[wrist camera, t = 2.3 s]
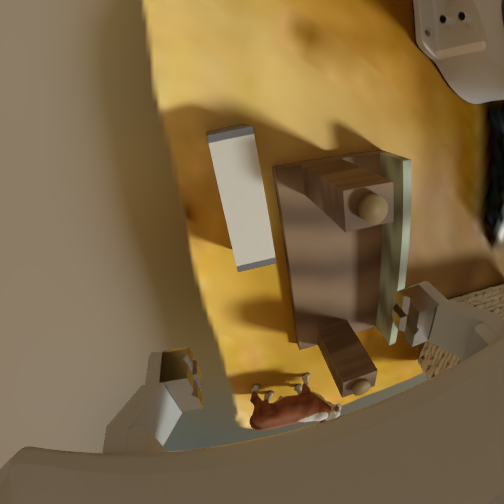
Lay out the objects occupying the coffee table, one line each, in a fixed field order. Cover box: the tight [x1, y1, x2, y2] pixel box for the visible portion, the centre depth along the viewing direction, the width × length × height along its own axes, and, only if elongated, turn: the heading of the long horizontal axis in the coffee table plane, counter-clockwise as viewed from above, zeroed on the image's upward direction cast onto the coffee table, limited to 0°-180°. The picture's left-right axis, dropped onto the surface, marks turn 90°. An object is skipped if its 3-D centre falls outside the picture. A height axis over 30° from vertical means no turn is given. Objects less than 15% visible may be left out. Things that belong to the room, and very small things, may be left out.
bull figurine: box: [250, 373, 342, 431], centre depth 38 cm, size 4×13×8 cm, turn 92°
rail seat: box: [272, 150, 411, 397], centre depth 28 cm, size 23×12×11 cm, turn 10°
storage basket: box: [418, 284, 504, 379], centre depth 38 cm, size 24×16×15 cm
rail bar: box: [207, 124, 276, 272], centre depth 26 cm, size 12×4×4 cm, turn 10°
